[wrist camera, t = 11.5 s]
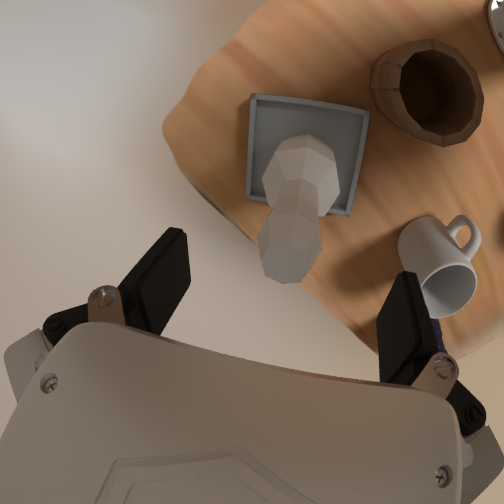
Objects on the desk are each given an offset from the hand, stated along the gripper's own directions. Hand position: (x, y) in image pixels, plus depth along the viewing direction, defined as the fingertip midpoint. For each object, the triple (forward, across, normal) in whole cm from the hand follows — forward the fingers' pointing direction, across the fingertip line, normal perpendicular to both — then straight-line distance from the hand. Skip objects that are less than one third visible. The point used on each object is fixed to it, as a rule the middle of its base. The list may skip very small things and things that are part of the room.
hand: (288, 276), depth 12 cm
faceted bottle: (+23, +1, +1) cm, 23 cm away
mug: (+25, -19, +8) cm, 32 cm away
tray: (+24, +1, +1) cm, 24 cm away
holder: (+25, -11, -10) cm, 29 cm away
